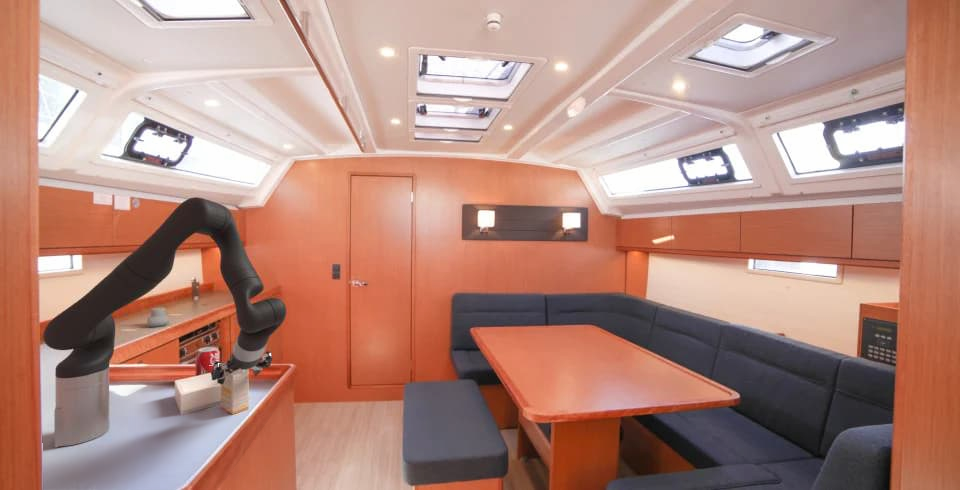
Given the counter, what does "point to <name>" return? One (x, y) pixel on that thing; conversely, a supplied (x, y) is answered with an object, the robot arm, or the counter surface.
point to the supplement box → (235, 392)
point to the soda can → (206, 360)
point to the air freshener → (158, 317)
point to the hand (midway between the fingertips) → (238, 377)
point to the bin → (197, 393)
